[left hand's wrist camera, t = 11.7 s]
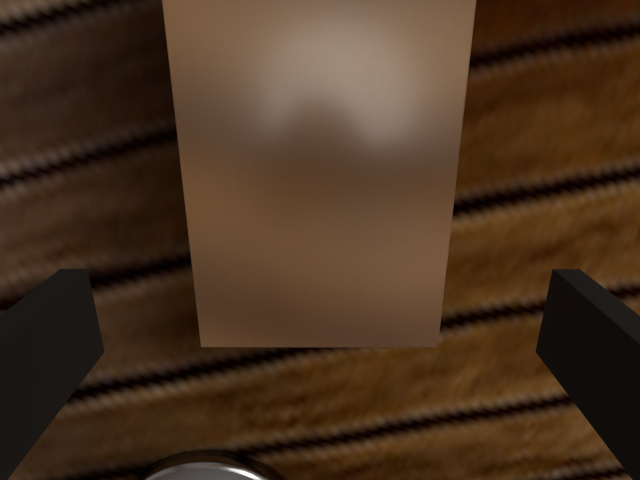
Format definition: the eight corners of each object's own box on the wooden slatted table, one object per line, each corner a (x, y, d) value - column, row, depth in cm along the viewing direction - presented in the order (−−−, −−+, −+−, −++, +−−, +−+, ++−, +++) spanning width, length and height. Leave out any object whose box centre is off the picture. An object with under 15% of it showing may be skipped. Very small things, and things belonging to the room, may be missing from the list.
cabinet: (223, -63, 24) (141, -173, 13) (415, -63, 24) (496, -173, 13) (243, 247, 30) (200, 347, 19) (395, 247, 30) (437, 347, 19)
